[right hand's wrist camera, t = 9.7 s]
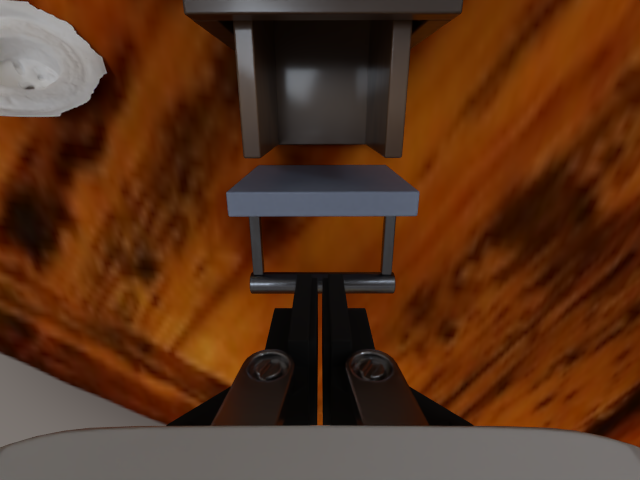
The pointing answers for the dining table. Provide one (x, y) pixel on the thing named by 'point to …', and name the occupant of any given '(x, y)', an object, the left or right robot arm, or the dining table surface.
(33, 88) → the seashell
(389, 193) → the drawer
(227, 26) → the cabinet
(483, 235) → the dining table surface
